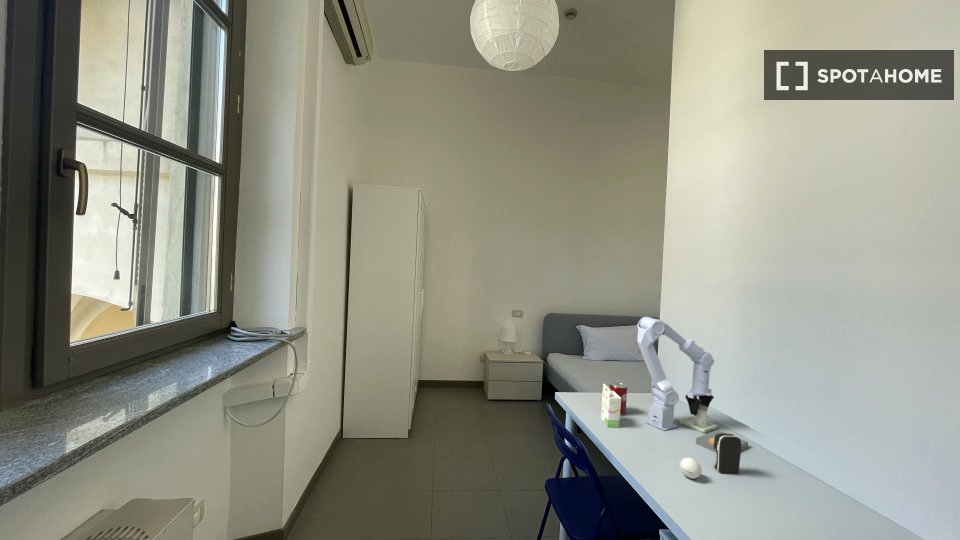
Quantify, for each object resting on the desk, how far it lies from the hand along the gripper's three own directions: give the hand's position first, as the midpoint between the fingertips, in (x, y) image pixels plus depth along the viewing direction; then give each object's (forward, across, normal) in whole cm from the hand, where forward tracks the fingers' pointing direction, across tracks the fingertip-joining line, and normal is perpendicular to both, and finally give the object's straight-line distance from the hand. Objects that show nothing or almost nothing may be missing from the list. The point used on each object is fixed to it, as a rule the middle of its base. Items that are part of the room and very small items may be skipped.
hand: (698, 413), depth 143 cm
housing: (+5, -9, -13) cm, 17 cm away
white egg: (+6, -42, -20) cm, 47 cm away
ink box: (+6, -33, +17) cm, 38 cm away
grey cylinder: (+5, 0, -1) cm, 5 cm away
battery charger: (+6, -27, -22) cm, 35 cm away
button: (+5, -14, -13) cm, 20 cm away
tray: (+5, 0, 0) cm, 5 cm away
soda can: (+6, -21, +23) cm, 32 cm away
